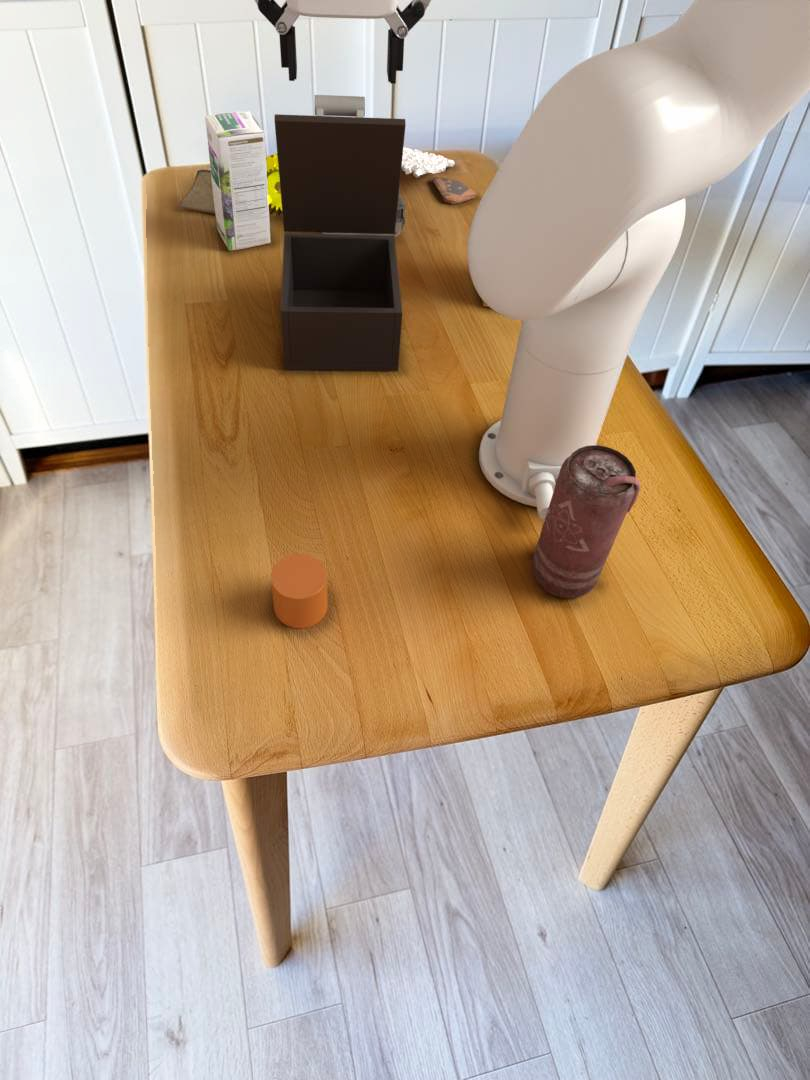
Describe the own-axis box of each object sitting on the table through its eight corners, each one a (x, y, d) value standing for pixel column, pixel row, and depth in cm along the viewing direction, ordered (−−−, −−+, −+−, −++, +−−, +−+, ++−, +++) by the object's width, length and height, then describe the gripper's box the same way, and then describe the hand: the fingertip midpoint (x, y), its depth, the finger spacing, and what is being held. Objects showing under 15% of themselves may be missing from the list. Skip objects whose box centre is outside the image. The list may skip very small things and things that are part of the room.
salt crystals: (458, 169, 121) (460, 158, 120) (421, 184, 104) (423, 170, 104) (334, 136, 124) (335, 124, 123) (279, 145, 107) (280, 132, 107)
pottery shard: (479, 192, 114) (447, 195, 112) (477, 202, 115) (446, 205, 113) (458, 171, 118) (427, 173, 116) (457, 180, 119) (426, 183, 117)
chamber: (398, 371, 91) (402, 312, 85) (284, 370, 90) (280, 311, 83) (391, 293, 100) (394, 235, 94) (287, 291, 99) (284, 232, 92)
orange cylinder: (327, 628, 69) (327, 598, 66) (273, 629, 69) (269, 599, 65) (327, 584, 72) (326, 553, 69) (275, 584, 72) (271, 553, 68)
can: (597, 607, 72) (643, 505, 61) (527, 593, 73) (560, 489, 62) (601, 555, 76) (645, 449, 65) (534, 541, 77) (566, 435, 66)
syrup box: (215, 229, 106) (201, 114, 95) (259, 221, 108) (250, 108, 97) (229, 252, 103) (215, 137, 92) (273, 244, 105) (265, 129, 93)
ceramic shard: (257, 176, 107) (253, 173, 106) (252, 219, 108) (249, 217, 107) (187, 166, 108) (182, 163, 106) (183, 209, 109) (178, 207, 108)
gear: (287, 135, 104) (243, 173, 108) (281, 142, 102) (236, 181, 105) (327, 188, 108) (283, 223, 112) (322, 197, 105) (277, 232, 109)
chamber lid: (405, 124, 79) (403, 84, 80) (274, 120, 78) (275, 79, 79) (394, 234, 93) (393, 198, 95) (283, 231, 92) (284, 195, 94)
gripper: (230, -142, 63) (251, 90, 77) (449, -131, 65) (433, 95, 78) (236, -164, 68) (255, 58, 81) (441, -154, 70) (426, 63, 83)
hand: (342, 76), depth 80 cm, fingers open, 9 cm apart
